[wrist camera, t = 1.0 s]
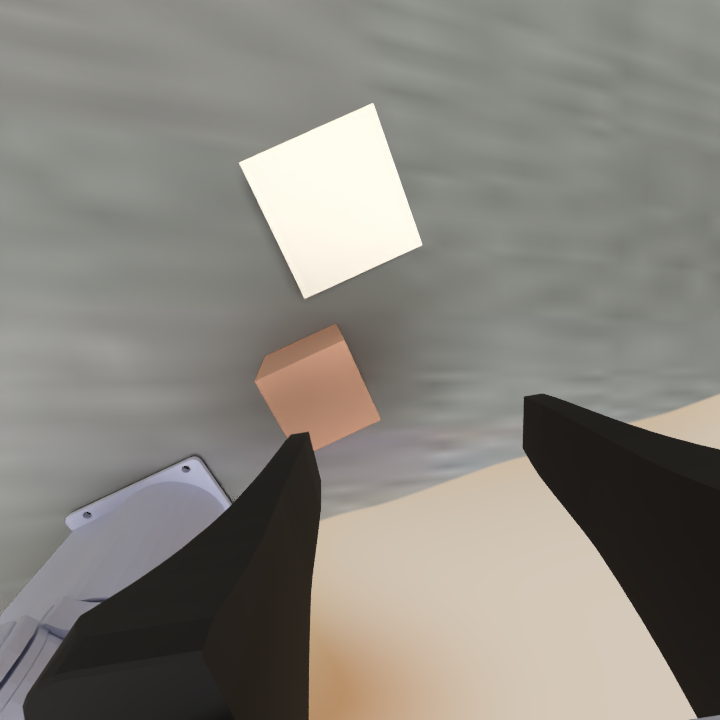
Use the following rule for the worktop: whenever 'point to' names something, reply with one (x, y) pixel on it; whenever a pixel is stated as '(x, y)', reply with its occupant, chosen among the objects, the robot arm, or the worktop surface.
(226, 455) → the worktop surface
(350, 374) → the terracotta cube
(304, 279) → the cream plinth
